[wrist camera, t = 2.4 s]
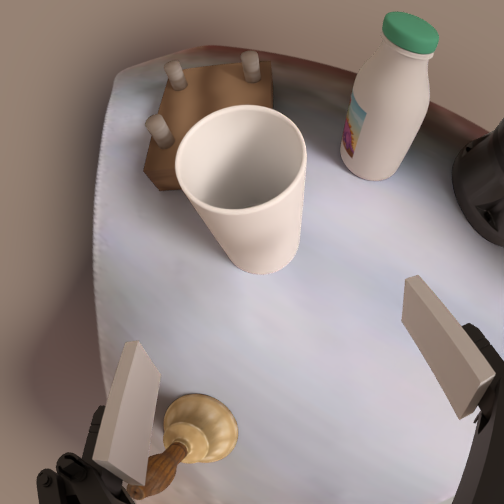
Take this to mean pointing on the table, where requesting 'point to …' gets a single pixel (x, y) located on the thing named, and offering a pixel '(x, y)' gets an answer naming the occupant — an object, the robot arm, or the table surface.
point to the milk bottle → (389, 98)
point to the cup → (247, 183)
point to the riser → (200, 106)
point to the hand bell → (189, 440)
